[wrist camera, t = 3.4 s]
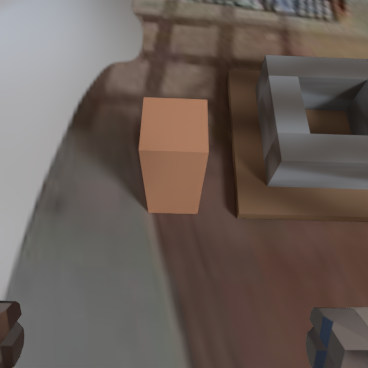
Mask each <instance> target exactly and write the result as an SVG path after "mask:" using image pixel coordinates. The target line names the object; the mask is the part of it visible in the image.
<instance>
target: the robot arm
mask: <svg viewBox="0 0 368 368" xmlns="http://www.w3.org/2000/svg"><path fill="white" fill-rule="evenodd" d="M20 316H21V309H20V304H19V303H18V302H16V301H0V368H12V367H14V366H15V364H16V362H17V361H18V359H19V357H20V354H21V351H22V348H23V345H24V329H23V327H22V326H21V325H20V324H19V323H18V322H17V320H18V319H19V317H20ZM310 321H311V323H312V325H313V326H314V327H313V328H312V329H311V330H310V331H309V332H308V333H307V339H306V349H307V356H308V359H309V362H310V364H311V367H312V368H368V307H349V308H326V307H314V308H313V309H312V311H311V315H310Z"/></svg>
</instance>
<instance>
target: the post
mask: <svg viewBox="0 0 368 368" xmlns="http://www.w3.org/2000/svg"><path fill="white" fill-rule="evenodd" d="M208 153H209V145H208V108H207V100H201V99H173V98H146V97H144V101H143V111H142V121H141V131H140V142H139V156H140V162H141V168H142V175H143V181H144V187H145V194H146V200H147V206H148V213H182V214H197V213H198V207H199V202H200V196H201V191H202V186H203V180H204V175H205V170H206V164H207V159H208Z"/></svg>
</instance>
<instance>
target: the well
mask: <svg viewBox="0 0 368 368" xmlns="http://www.w3.org/2000/svg"><path fill="white" fill-rule="evenodd" d="M227 81H228V96H229V111H230V125H231V140H232V155H233V169H234V184H235V198H236V213H237V218H248V219H285V220H321V221H357V222H368V59H349V58H324V57H299V56H275V55H265V59H264V62H263V65H262V68H261V71H250V70H229V71H228V76H227Z"/></svg>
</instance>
